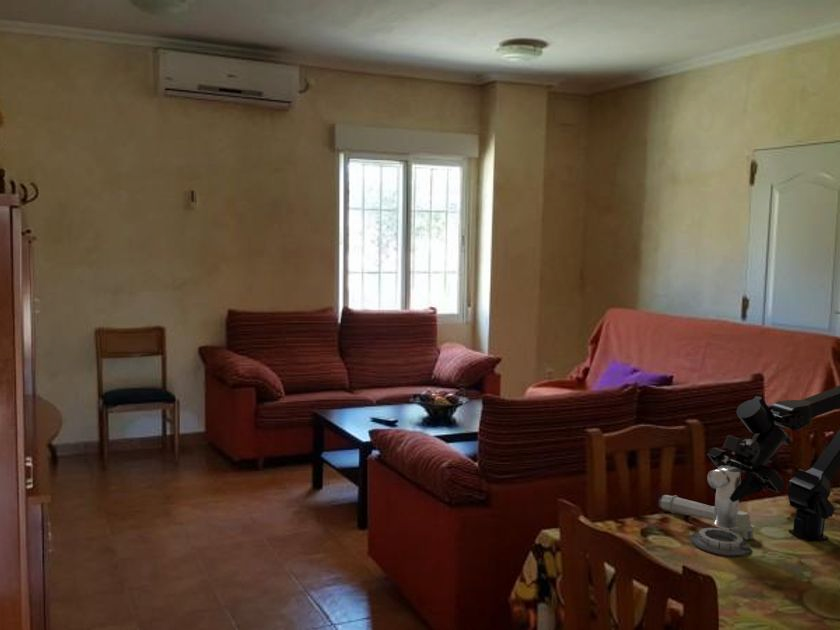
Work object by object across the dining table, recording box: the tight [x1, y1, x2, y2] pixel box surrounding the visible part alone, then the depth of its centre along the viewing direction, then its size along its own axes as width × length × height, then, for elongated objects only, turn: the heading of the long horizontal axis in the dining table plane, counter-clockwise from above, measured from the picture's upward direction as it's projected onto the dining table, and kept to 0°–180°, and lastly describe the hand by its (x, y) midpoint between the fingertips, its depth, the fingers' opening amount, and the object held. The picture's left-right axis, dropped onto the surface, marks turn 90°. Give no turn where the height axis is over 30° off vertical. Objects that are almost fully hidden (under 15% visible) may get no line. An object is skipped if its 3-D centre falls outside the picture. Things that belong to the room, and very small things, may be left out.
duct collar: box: [690, 527, 751, 558], centre depth 183 cm, size 13×13×2 cm
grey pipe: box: [658, 494, 755, 540], centre depth 197 cm, size 5×7×25 cm
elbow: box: [706, 466, 742, 529], centre depth 180 cm, size 7×5×13 cm
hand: (722, 496), depth 180 cm, fingers closed on elbow, 5 cm apart
